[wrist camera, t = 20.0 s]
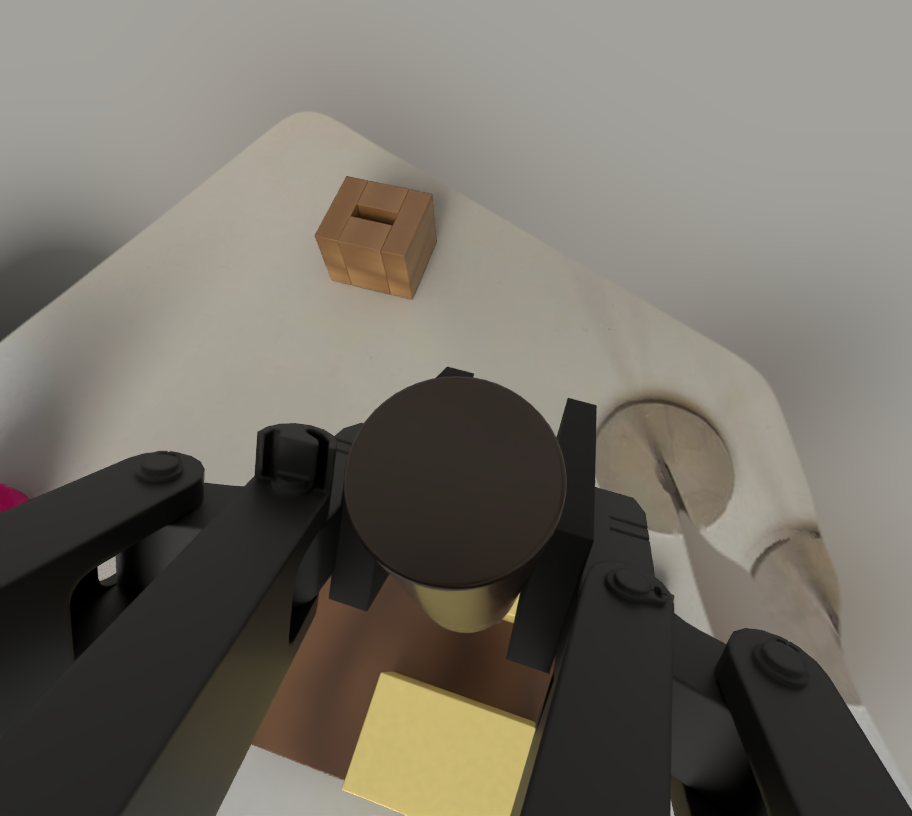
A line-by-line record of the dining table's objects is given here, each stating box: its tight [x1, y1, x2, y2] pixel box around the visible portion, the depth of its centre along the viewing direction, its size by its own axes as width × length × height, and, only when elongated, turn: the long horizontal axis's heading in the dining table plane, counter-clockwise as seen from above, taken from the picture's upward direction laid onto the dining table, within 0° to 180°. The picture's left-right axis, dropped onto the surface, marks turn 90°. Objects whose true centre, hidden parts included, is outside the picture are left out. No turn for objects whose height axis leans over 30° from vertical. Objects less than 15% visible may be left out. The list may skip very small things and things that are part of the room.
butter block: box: [342, 672, 536, 816], centre depth 27 cm, size 8×5×4 cm, turn 73°
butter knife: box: [343, 376, 567, 633], centre depth 14 cm, size 3×3×16 cm
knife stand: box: [315, 176, 437, 299], centre depth 42 cm, size 7×6×5 cm
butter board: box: [251, 575, 674, 781], centre depth 31 cm, size 20×14×2 cm
